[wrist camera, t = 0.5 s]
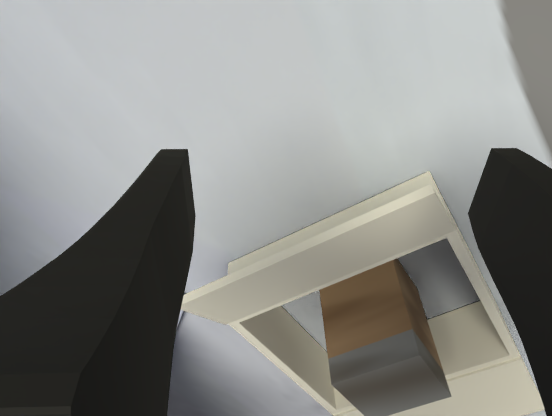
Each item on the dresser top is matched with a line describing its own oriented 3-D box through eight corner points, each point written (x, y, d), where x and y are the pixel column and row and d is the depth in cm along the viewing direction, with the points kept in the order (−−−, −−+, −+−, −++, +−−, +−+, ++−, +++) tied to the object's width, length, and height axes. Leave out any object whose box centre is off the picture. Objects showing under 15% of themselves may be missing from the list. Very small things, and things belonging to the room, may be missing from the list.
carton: (510, 330, 33) (547, 409, 29) (349, 383, 37) (361, 460, 33) (399, 112, 22) (433, 190, 18) (186, 221, 26) (172, 306, 22)
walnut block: (417, 288, 30) (451, 396, 25) (350, 314, 32) (369, 421, 26) (388, 245, 28) (419, 354, 22) (317, 274, 29) (331, 384, 24)
